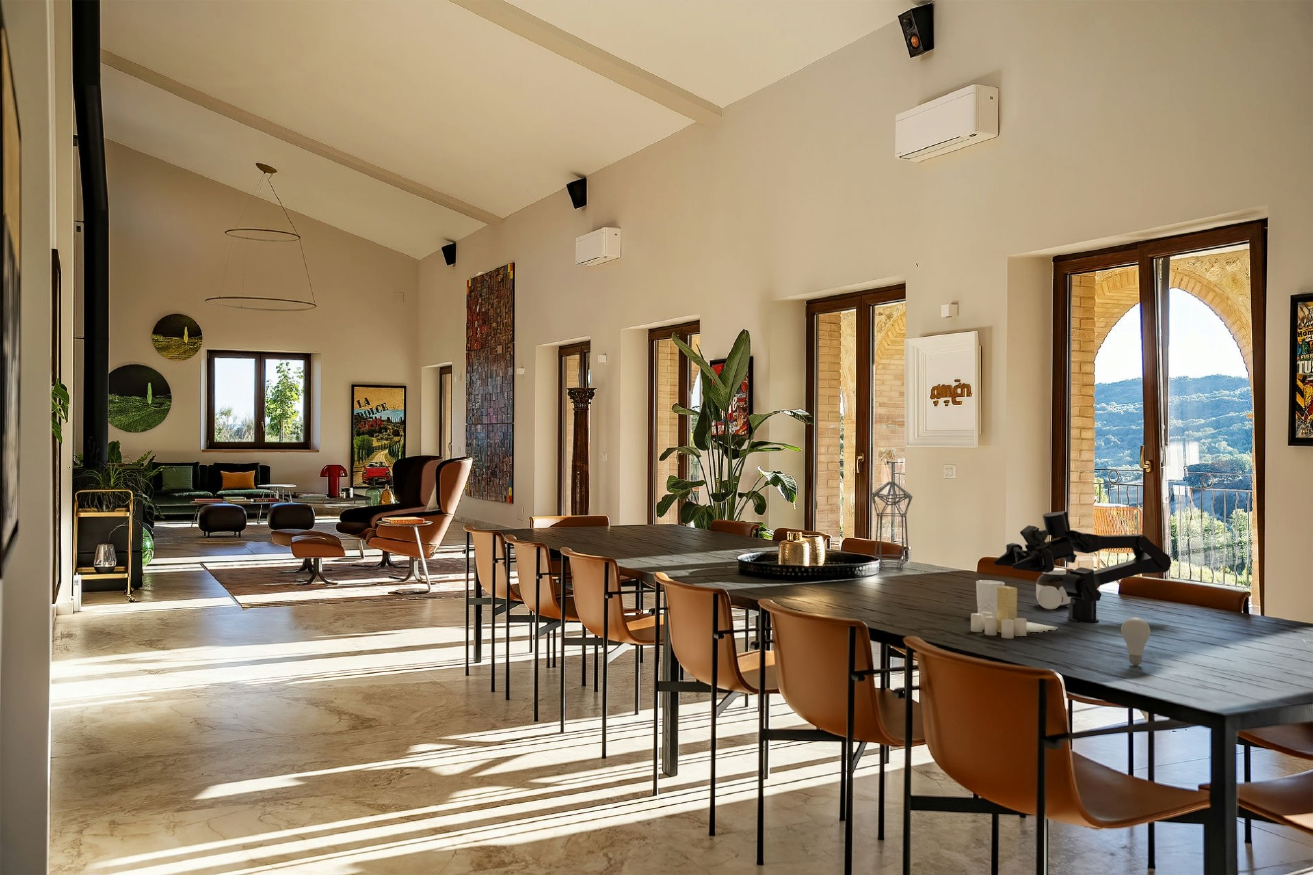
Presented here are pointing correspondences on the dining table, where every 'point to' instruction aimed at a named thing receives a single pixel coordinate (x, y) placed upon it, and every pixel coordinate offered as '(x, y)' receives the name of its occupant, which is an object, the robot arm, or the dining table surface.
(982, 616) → the spacers
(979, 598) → the white cup
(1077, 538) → the robot arm
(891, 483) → the geometric lantern
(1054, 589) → the spread jar
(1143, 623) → the lightbulb
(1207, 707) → the dining table surface
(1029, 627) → the mat
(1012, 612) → the brass post
